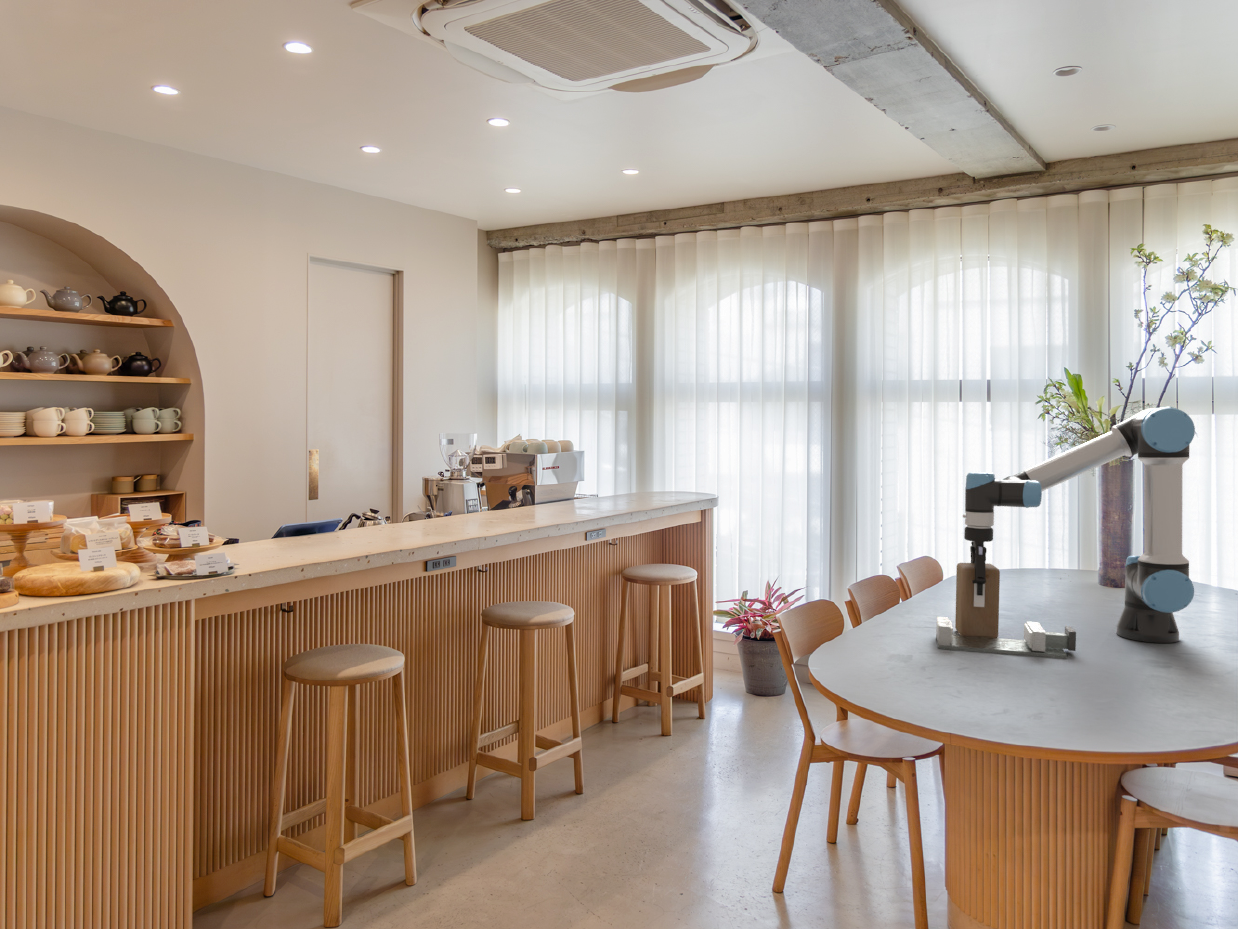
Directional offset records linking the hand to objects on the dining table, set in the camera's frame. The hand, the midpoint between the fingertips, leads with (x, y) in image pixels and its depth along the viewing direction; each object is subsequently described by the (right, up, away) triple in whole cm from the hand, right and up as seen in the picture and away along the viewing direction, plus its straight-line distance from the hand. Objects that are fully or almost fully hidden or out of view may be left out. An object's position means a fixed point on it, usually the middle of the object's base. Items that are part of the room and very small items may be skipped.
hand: (977, 602), depth 247 cm
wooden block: (0, -10, +1) cm, 10 cm away
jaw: (+12, -9, -17) cm, 23 cm away
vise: (0, -10, -13) cm, 17 cm away
